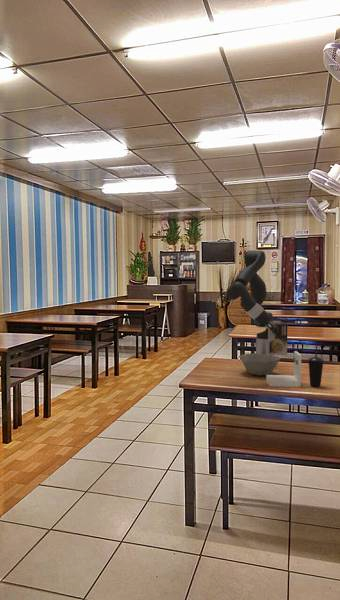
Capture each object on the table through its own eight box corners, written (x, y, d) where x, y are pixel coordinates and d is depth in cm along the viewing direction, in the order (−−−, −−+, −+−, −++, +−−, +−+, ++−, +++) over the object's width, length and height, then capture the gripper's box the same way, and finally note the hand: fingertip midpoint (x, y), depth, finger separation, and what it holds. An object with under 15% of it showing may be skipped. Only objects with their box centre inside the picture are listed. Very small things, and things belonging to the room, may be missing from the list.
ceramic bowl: (284, 373, 242) (285, 355, 242) (272, 381, 222) (273, 362, 222) (247, 368, 254) (248, 351, 253) (233, 375, 234) (233, 357, 233)
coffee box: (285, 353, 220) (286, 322, 219) (287, 355, 213) (288, 324, 212) (267, 352, 221) (268, 322, 220) (268, 355, 214) (269, 323, 213)
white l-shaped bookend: (266, 380, 224) (267, 350, 223) (295, 381, 222) (296, 351, 222) (269, 386, 212) (270, 354, 211) (300, 387, 210) (301, 355, 210)
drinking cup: (319, 384, 217) (320, 345, 216) (325, 388, 209) (326, 348, 208) (305, 384, 216) (306, 345, 215) (310, 388, 209) (311, 347, 208)
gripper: (265, 309, 209) (288, 334, 209) (261, 307, 224) (284, 330, 223) (253, 320, 210) (277, 344, 210) (251, 317, 224) (273, 340, 224)
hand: (280, 337), depth 216 cm, fingers closed on coffee box, 6 cm apart
